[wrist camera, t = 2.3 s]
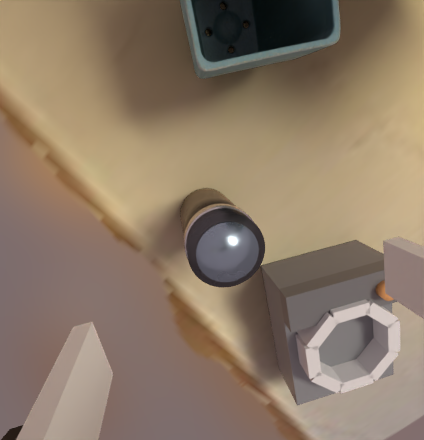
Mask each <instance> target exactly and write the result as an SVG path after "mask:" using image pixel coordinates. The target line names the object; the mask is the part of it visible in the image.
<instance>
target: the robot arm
mask: <svg viewBox="0 0 424 440" xmlns="http://www.w3.org/2000/svg"><path fill="white" fill-rule="evenodd" d="M383 245H384V274H385V293H386V294H387V295H389V296H390V297H392V298H393V299H395V300H396V301H398V302H399V303H401V304H402V305H404V306H405V307H407V308H408V309H410V310H411V311H413V312H414V313H416V314H417V315H419V316H420V317H422V318H423V319H424V246H421V245H419V244H416V243H414V242H411V241H408V240H406V239H403V238H401V237H395V238H392V239H388V240H384V241H383ZM112 377H113V373H112V370H111V367H110V365H109V362H108V360H107V357H106V355H105V352H104V350H103V348H102V345H101V343H100V340H99V337H98V335H97V332H96V330H95V327H94V325H93V322H89V323H85V324H82V325H78V326H75V327H73V328H72V330H71V333H70V334H69V336H68V338H67V340H66V342H65V344H64V346H63V348H62V350H61V352H60V354H59V356H58V358H57V360H56V362H55V364H54V366H53V368H52V370H51V372H50V374H49V376H48V378H47V380H46V382H45V384H44V386H43V388H42V390H41V392H40V394H39V396H38V397H37V399H36V401H35V404H34V405H33V407H32V409H31V411H30V413H29V415H28V417H27V419H26V421H25V423H24V425H22V426H19V427H16V428H12V429H10V430H9V431H8V432H7V434H6V435H5V436H4V437H3V438H2V439H1V440H98V439H99V434H100V430H101V425H102V421H103V417H104V412H105V408H106V403H107V399H108V394H109V390H110V385H111V381H112Z"/></svg>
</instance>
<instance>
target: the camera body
mask: <svg viewBox="0 0 424 440" xmlns="http://www.w3.org/2000/svg"><path fill="white" fill-rule="evenodd" d="M261 269H262V274H263V280H264V286H265V292H266V297H267V303H268V309H269V315H270V320H271V326H272V332H273V337H274V343H275V349H276V355H277V360H278V366H279V370H280V372H281V374H282V376H283V378H284V380H285V382H286V384H287V386H288V388H289V390H290V392H291V394H292V396H293V398H294V400H295V402H296V404H297V405H300V404H303V403H306V402H309V401H312V400H315V399H319V398H322V397H325V396H328V395H331V394H334V393H338V392H340V393H344V392H347V391H350V390H353V389H356V388H360V387H363V386H366V385H369V384H372V383H373V381H375V380H376V381H377V380H378V379H381V378H384V377H387V376H390V375H393V361H394V359H395V358H396V357H397V356H398V355H399V354H398V353H397V352H398V351H400V321H399V320H398V317H396V316H395V315H394V314H392V303H394V302H397V301H396V300H395V299H393V298H392V297H390V296H389V295H387V294H386V293H385V274H384V254H382V253H380V252H379V251H377V250H375V249H373V248H371V247H369V246H367V245H365V244H363V243H361V242H359V241H357V240H354V241H351V242H347V243H343V244H339V245H336V246H332V247H328V248H325V249H321V250H317V251H313V252H310V253H306V254H302V255H299V256H295V257H291V258H287V259H284V260H280V261H276V262H273V263H269V264H265V265H261Z"/></svg>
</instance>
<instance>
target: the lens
mask: <svg viewBox="0 0 424 440" xmlns="http://www.w3.org/2000/svg"><path fill="white" fill-rule="evenodd" d="M180 217H181V223H182V228H183V233H184V247H185V252H186V256H187V258H188V260H189V264H190V267H191V269H192V271H193V272H194V273H195V275H196V276H197V277H198V278H199V279H200V280H202V281H203V282H205V283H207V284H209V285H212V286H216V287H231V286H235V285H238V284H241V283H243V282H244V281H246V280H248V279H249V278H250V277H251V276H252V275H253V274H254V273H255V272H256V271H257V270H258V268H259V267H260V265H261V263H262V261H263V258H264V253H265V242H264V238H263V235H262V233H261V231H260V229H259V228H258V226H257V225H256V224H255V223H254V221H253V220H252V219H251V218H250V217H249V216H248V215H247V214H246V213H245V212H244V211H242V210H241V209H240V208H238V207H236V206H235V205H234V204H233V203H232V202H231V201H230V200H228V199H227V198H226V197H225V196H224V195H223V194H222V193H220V192H219V191H217V190H214V189H209V188H203V189H199V190H196V191H194V192H192V193H191V194H190V195H188V196H187V197H186V199H185V200H184V202H183V204H182V206H181V211H180Z"/></svg>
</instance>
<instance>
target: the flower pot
mask: <svg viewBox="0 0 424 440" xmlns="http://www.w3.org/2000/svg"><path fill="white" fill-rule="evenodd" d="M221 3H225V4H226V9H225V10H222V9H221V8H220V4H221ZM180 4H181V9H182V13H183V18H184V23H185V27H186V32H187V36H188V41H189V46H190V50H191V55H192V60H193V65H194V70H195V73H196V75H197V76H198V77H199V78H201V79H205V78H210V77H214V76H219V75H223V74H228V73H232V72H237V71H241V70H246V69H250V68H255V67H260V66H264V65H269V64H274V63H278V62H283V61H288V60H293V59H296V58H299V57H302V56H304V55H307V54H310V53H313V52H315V51H318V50H321V49H323V48H326V47H328V46H331V45H334V44H335V43H337V42H338V40H339V38H340V27H341V26H340V13H339V1H338V0H180ZM244 21H247V22H248V23H249V26H248V28H244V27H243V22H244ZM207 29H210V30H211V35H210V36H207V35H206V33H205V31H206V30H207ZM229 47H233V48H234V52H233V53H229V51H228V48H229Z"/></svg>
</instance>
